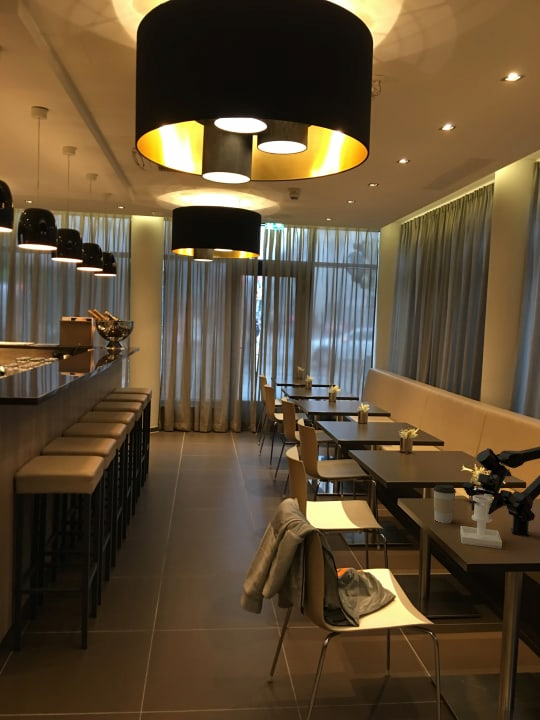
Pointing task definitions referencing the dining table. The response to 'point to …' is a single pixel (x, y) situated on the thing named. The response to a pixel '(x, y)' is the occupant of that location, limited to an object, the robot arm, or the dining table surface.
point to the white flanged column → (482, 512)
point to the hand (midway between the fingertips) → (480, 512)
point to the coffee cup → (444, 502)
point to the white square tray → (480, 537)
